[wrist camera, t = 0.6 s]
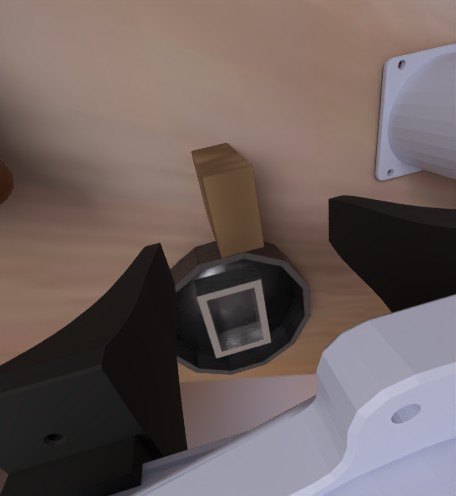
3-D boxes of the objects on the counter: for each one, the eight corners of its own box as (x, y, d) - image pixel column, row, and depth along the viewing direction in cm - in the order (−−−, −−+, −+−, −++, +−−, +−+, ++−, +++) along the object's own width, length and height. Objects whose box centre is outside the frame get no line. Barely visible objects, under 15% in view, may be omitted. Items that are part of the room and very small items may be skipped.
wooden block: (226, 142, 19) (252, 165, 13) (237, 205, 21) (264, 246, 16) (191, 151, 19) (202, 178, 13) (206, 213, 21) (221, 258, 16)
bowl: (292, 220, 23) (306, 235, 21) (301, 330, 29) (312, 350, 27) (136, 262, 22) (133, 281, 20) (180, 365, 28) (182, 389, 26)
